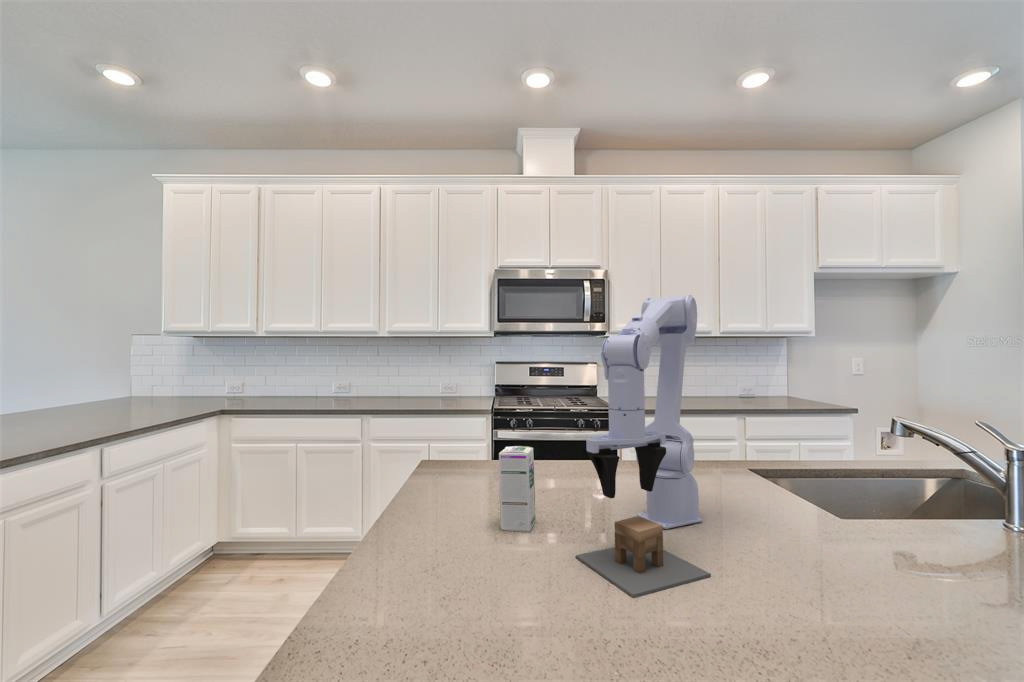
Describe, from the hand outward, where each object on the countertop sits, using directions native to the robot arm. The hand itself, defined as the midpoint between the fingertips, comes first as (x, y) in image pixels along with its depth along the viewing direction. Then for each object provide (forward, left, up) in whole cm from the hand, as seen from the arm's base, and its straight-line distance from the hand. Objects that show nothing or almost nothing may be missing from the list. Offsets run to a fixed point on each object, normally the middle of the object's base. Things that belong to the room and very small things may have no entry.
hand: (628, 493), depth 78 cm
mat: (+1, +4, -10) cm, 11 cm away
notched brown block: (+1, +4, -9) cm, 10 cm away
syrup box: (+10, -20, -10) cm, 24 cm away
